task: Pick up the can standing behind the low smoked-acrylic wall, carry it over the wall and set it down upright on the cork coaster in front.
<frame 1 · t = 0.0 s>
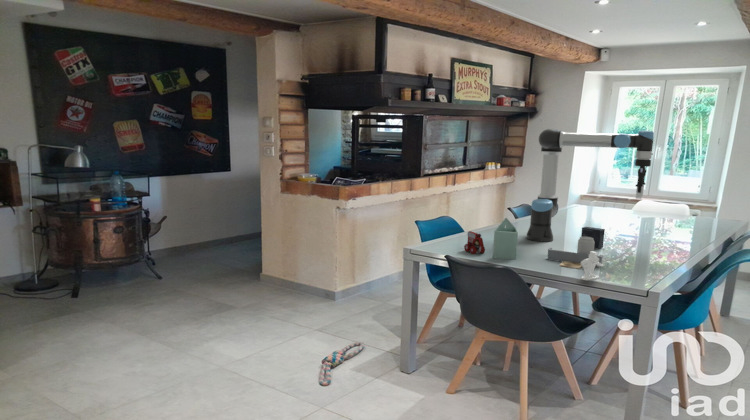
hand: (639, 197, 272), 28 cm above the table, fingers open, 13 cm apart
figurine: (590, 279, 211), on the table
coaster: (571, 265, 232), on the table
can: (584, 261, 240), on the table
toy fire truck: (474, 252, 254), on the table
planter: (509, 257, 245), on the table
wall: (573, 262, 237), on the table
box: (591, 246, 274), on the table
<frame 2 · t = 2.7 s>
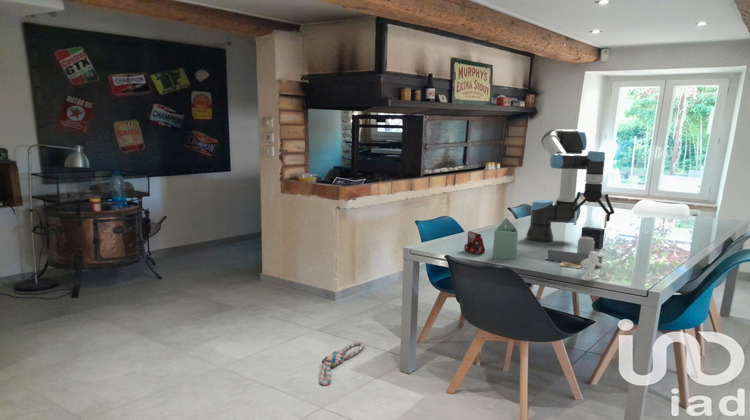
hand: (589, 226, 239), 17 cm above the table, fingers open, 13 cm apart
nothing on the table moved.
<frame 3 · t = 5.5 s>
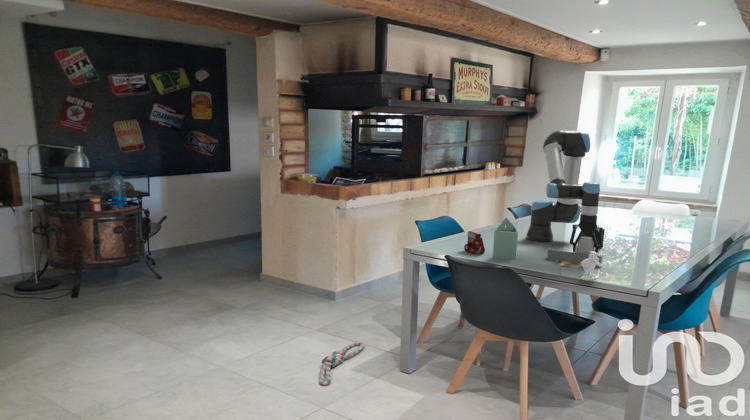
hand: (584, 259, 240), 1 cm above the table, fingers closed on can, 7 cm apart
can: (584, 261, 240), on the table, touching gripper
everything else where it was.
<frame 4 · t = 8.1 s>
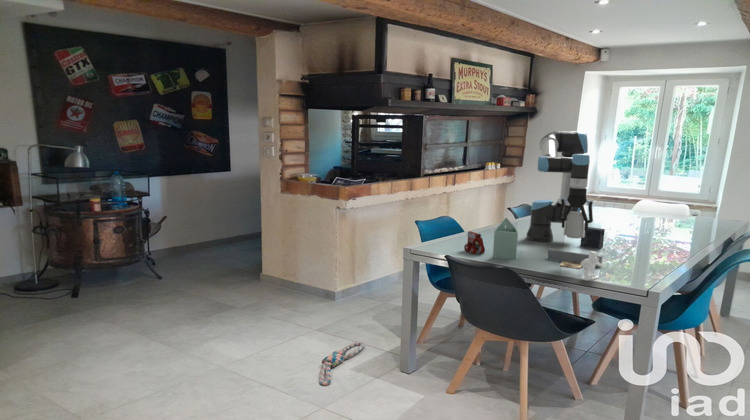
hand: (573, 235, 230), 14 cm above the table, fingers closed on can, 7 cm apart
can: (573, 237, 230), point 14 cm above the table, touching gripper
everything else where it was.
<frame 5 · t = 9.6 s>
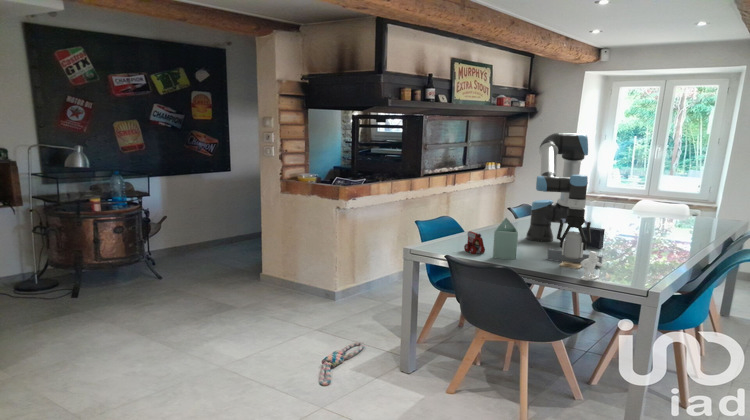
hand: (572, 255, 231), 5 cm above the table, fingers closed on can, 7 cm apart
can: (572, 257, 231), point 4 cm above the table, touching gripper
everything else where it was.
when the fingers open (3 cm above the table, at t = 10.9 s): can drops 1 cm, resting on coaster.
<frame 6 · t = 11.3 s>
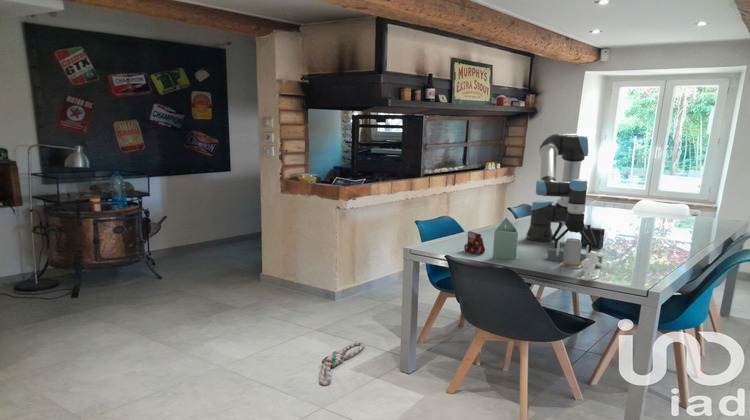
hand: (572, 257, 231), 4 cm above the table, fingers open, 12 cm apart
can: (571, 264, 232), point 1 cm above the table, touching coaster
everything else where it was.
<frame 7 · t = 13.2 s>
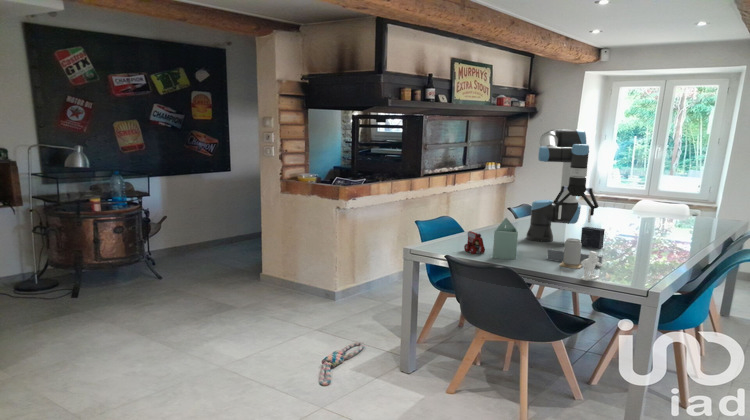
hand: (573, 220, 237), 20 cm above the table, fingers open, 13 cm apart
nothing on the table moved.
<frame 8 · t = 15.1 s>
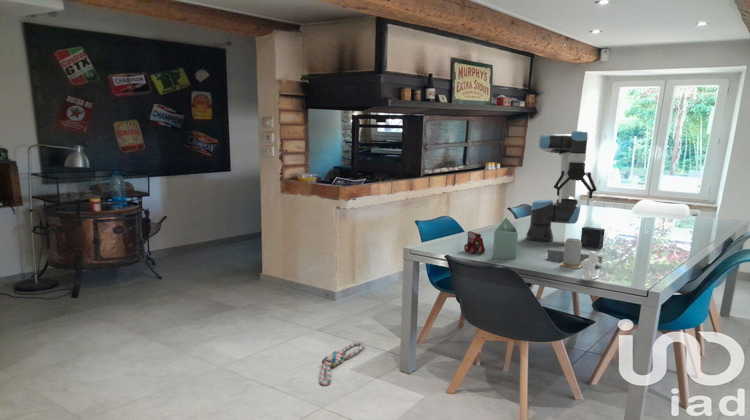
hand: (573, 203, 250), 27 cm above the table, fingers open, 13 cm apart
nothing on the table moved.
at the end: can inside the target area on the coaster (0.0 cm from its centre), point 0.5 cm above the coaster's base; can tilted 0°; the gripper is holding nothing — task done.
